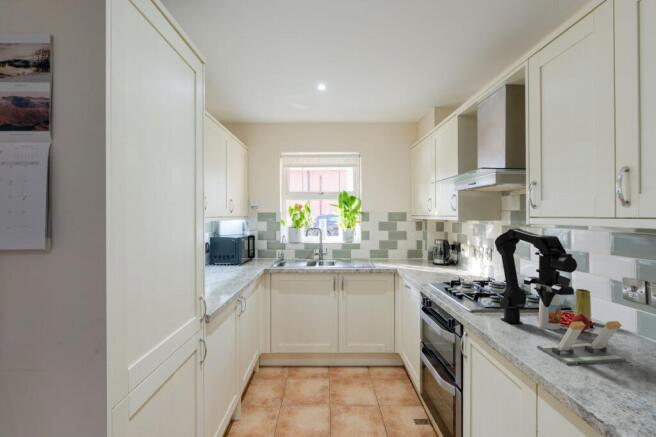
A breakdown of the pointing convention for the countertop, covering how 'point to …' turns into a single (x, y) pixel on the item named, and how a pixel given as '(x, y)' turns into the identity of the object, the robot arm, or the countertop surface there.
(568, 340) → the lever
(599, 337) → the on lever
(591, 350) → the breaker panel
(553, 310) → the milk bottle
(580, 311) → the vase
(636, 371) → the countertop surface
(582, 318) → the onion
